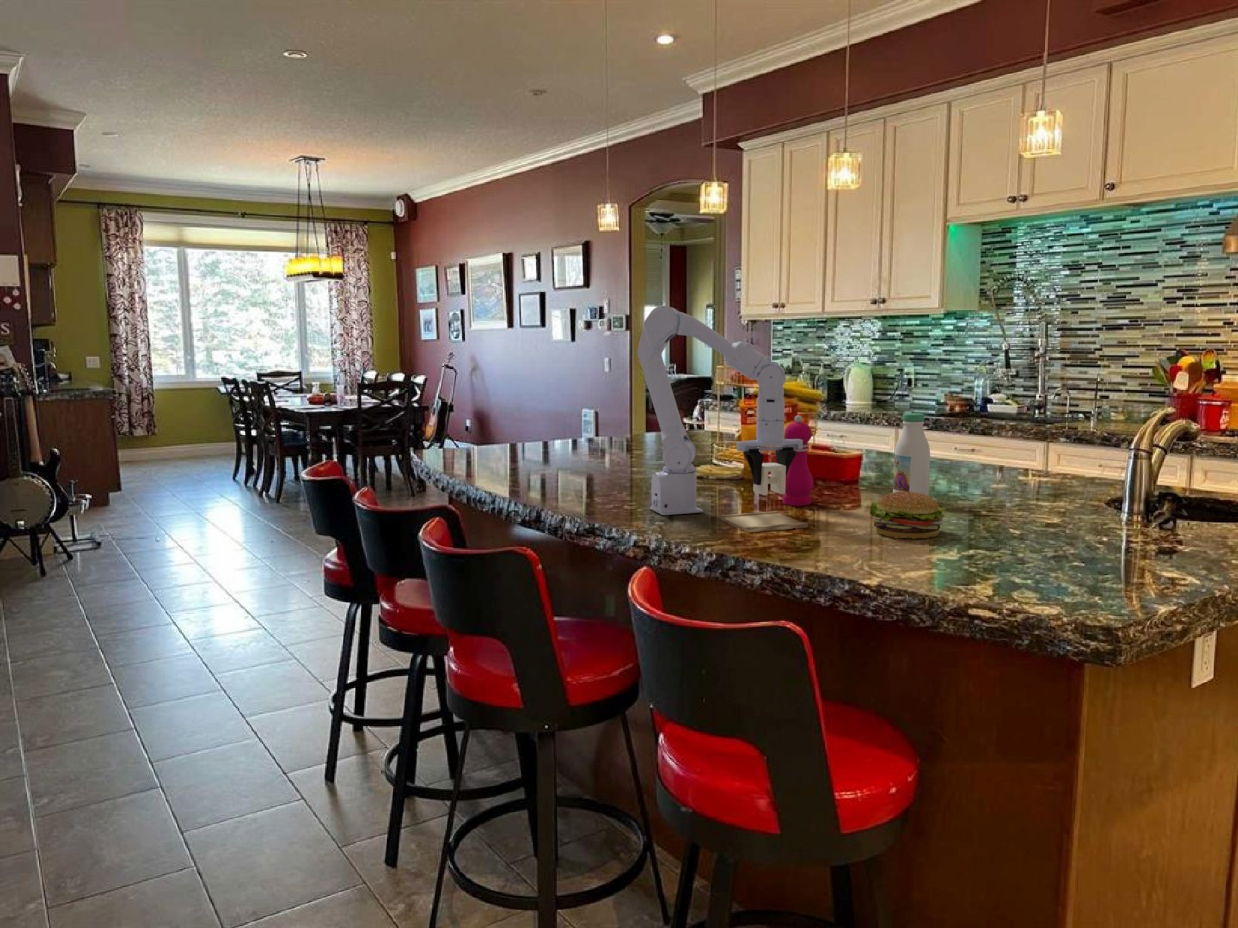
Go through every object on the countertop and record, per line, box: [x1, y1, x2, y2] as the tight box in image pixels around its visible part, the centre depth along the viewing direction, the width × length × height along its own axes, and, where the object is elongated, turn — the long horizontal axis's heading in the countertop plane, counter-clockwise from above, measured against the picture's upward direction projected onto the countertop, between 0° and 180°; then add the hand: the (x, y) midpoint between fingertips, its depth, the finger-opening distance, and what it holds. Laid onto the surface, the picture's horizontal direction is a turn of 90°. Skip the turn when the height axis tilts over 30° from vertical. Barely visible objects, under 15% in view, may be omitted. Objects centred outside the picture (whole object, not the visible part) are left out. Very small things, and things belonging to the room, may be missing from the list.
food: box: [869, 491, 947, 540], centre depth 169 cm, size 14×14×8 cm
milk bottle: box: [892, 412, 931, 496], centre depth 200 cm, size 8×8×20 cm
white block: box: [752, 462, 786, 496], centre depth 188 cm, size 5×5×6 cm
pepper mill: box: [782, 415, 814, 507], centre depth 199 cm, size 7×7×20 cm
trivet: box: [719, 510, 808, 533], centre depth 179 cm, size 13×13×1 cm
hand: (769, 483), depth 188 cm, fingers closed on white block, 5 cm apart
